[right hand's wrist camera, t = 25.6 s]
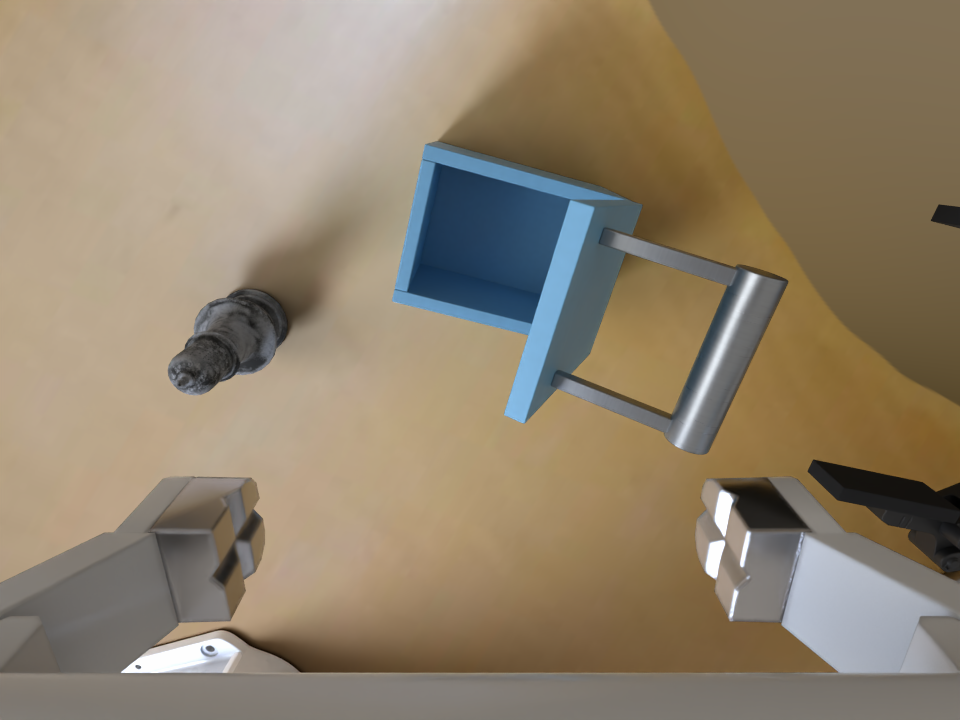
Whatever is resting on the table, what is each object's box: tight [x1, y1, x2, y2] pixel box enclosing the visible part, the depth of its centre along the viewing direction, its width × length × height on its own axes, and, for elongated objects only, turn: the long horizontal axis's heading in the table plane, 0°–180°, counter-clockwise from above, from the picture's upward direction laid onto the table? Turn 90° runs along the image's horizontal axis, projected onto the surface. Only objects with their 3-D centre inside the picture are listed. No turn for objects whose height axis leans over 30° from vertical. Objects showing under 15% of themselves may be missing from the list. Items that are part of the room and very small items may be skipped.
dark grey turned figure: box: [168, 289, 287, 395], centre depth 39 cm, size 6×6×12 cm
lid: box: [504, 200, 788, 455], centre depth 27 cm, size 12×9×8 cm
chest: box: [392, 141, 631, 335], centre depth 38 cm, size 12×9×9 cm
